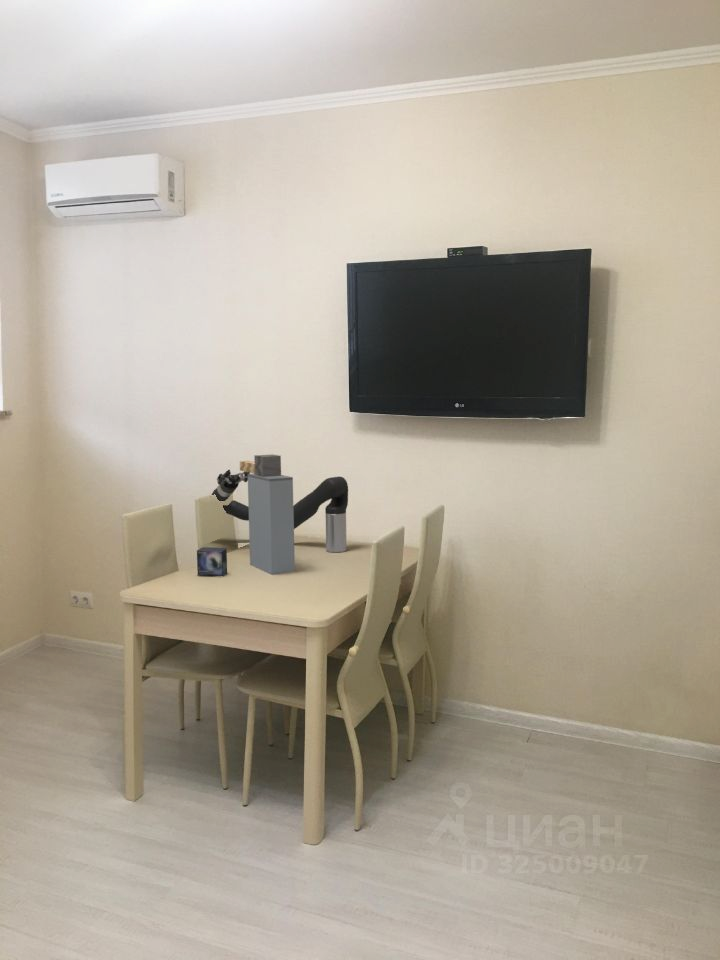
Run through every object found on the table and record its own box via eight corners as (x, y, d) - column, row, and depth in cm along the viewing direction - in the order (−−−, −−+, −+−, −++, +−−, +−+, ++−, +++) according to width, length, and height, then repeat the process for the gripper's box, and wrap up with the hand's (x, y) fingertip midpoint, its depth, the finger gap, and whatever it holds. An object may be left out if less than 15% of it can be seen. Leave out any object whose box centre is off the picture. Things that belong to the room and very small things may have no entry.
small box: (196, 576, 320) (195, 550, 319) (202, 572, 327) (201, 546, 325) (222, 577, 318) (221, 550, 317) (228, 573, 325) (227, 547, 323)
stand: (250, 564, 340) (247, 474, 335) (272, 561, 345) (269, 472, 340) (271, 574, 321) (269, 479, 317) (294, 571, 326) (292, 477, 322)
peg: (235, 470, 349) (234, 452, 349) (252, 469, 354) (252, 451, 353) (262, 476, 325) (262, 456, 324) (281, 475, 329) (280, 455, 328)
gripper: (244, 492, 372) (255, 477, 359) (214, 494, 365) (225, 479, 352) (240, 477, 374) (252, 462, 361) (210, 479, 367) (221, 464, 354)
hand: (238, 470), depth 357 cm, fingers open, 8 cm apart
